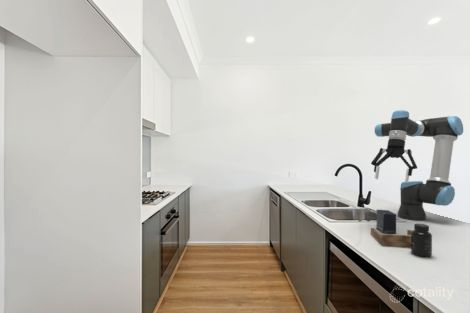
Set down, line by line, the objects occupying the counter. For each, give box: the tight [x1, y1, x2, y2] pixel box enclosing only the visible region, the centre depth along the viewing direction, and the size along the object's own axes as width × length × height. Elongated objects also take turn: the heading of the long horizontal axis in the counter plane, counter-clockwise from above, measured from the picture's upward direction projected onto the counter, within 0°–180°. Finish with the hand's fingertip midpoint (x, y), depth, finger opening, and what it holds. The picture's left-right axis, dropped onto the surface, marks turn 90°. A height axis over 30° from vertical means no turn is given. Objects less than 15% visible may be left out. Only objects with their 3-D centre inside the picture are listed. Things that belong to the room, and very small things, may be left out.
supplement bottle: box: [410, 223, 433, 258], centre depth 103 cm, size 7×7×12 cm
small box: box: [375, 209, 397, 234], centre depth 134 cm, size 11×6×10 cm, turn 168°
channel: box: [370, 227, 413, 249], centre depth 119 cm, size 18×18×5 cm
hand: (390, 180), depth 130 cm, fingers open, 13 cm apart
